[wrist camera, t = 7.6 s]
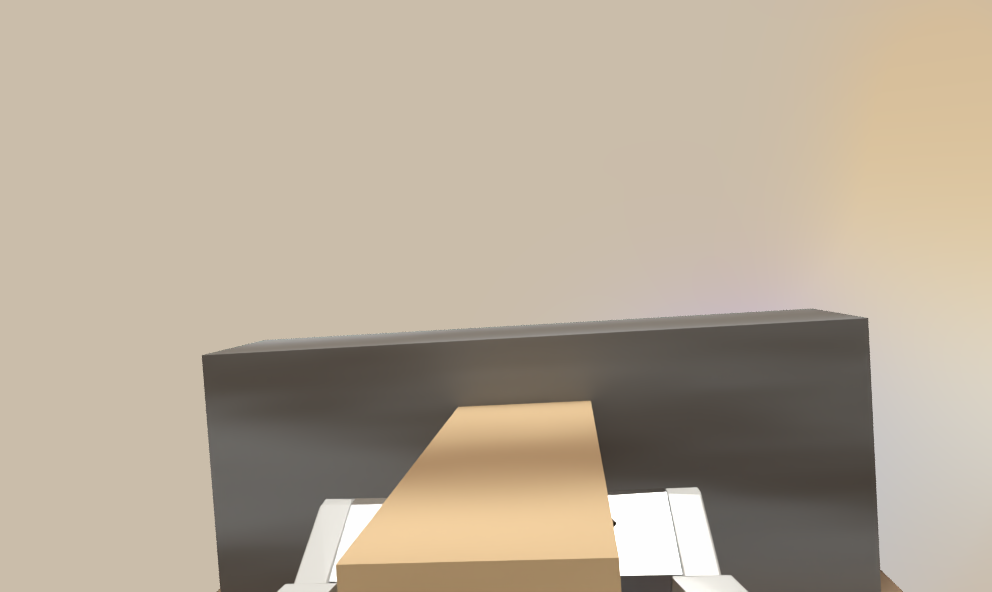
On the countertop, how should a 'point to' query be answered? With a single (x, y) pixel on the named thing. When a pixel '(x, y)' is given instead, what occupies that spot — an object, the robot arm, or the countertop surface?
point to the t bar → (549, 450)
